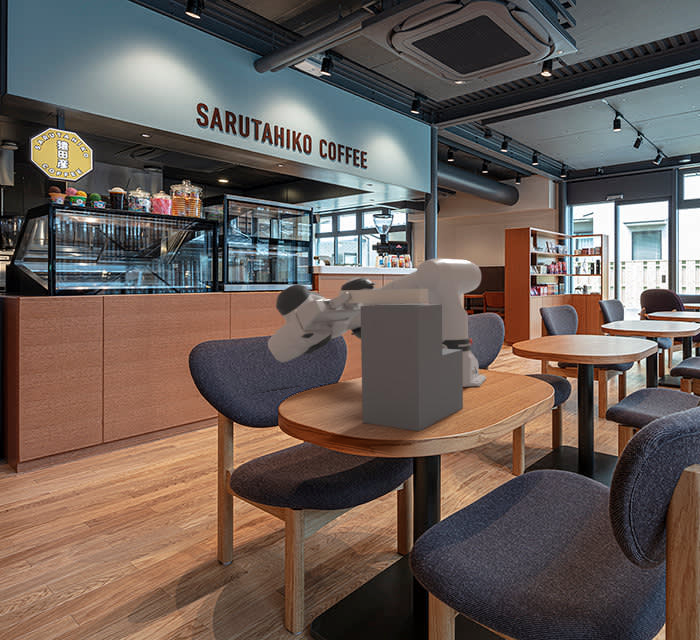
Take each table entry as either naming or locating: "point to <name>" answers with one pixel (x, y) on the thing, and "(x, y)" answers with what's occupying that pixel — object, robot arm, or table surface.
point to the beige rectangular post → (388, 296)
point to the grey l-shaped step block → (408, 367)
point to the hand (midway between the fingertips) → (355, 294)
